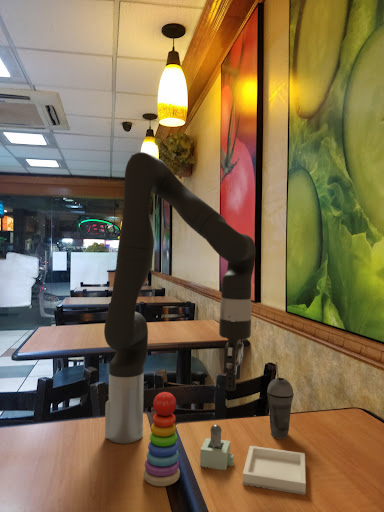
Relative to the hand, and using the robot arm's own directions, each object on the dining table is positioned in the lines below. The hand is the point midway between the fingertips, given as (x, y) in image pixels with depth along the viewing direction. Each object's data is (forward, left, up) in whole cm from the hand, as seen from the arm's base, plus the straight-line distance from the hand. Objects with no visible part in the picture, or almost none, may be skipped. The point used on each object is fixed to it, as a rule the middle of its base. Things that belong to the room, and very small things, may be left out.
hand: (233, 384), depth 95 cm
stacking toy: (-14, -12, -19) cm, 26 cm away
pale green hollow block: (-4, -2, -18) cm, 19 cm away
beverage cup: (+10, +17, -19) cm, 27 cm away
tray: (+10, -3, -18) cm, 21 cm away
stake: (-4, -2, -18) cm, 19 cm away
